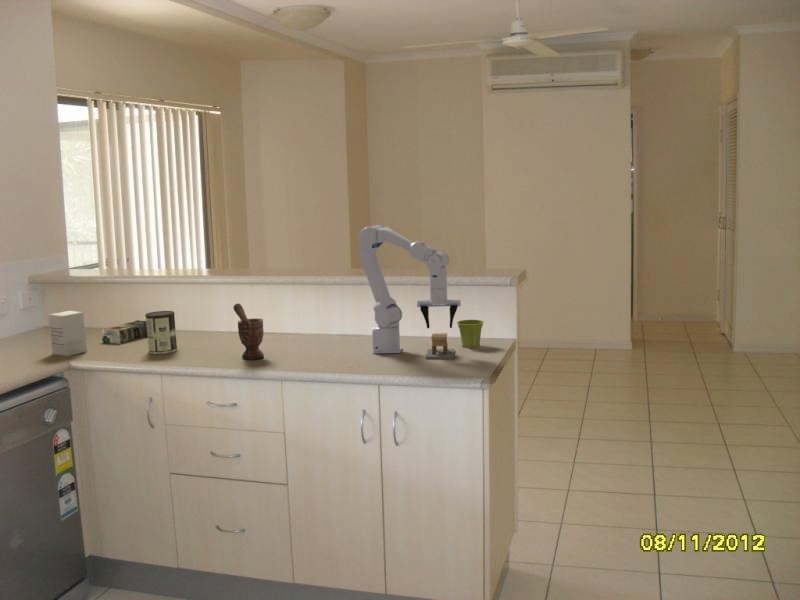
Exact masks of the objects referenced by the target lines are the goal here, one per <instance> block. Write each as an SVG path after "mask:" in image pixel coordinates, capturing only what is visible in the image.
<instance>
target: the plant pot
mask: <svg viewBox="0 0 800 600" xmlns="http://www.w3.org/2000/svg"><path fill="white" fill-rule="evenodd" d="M456 324H457V325H458V326H457V327H458V329H459V333H460V340H461V346H462V347H465V348H471V349H472V348H475V347H480V344H481V334H482V328H483V324H484V320H481V319H462V320H459V321H457V322H456Z"/></svg>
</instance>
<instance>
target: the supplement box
mask: <svg viewBox="0 0 800 600" xmlns="http://www.w3.org/2000/svg"><path fill="white" fill-rule="evenodd" d="M48 323H49V332H50V333H49V334H50V342H51V349H52V351H51V352H52V354H53V355H56V356H62V357H70V356H74V355H78V354H82V353H86V352H88V347H87V337H86V327H85V326H86V325H85V316H84V312H83V311H75V310H67V311H65V310H64V311H61V312H56V313H49V314H48Z"/></svg>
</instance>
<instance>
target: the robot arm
mask: <svg viewBox="0 0 800 600" xmlns="http://www.w3.org/2000/svg"><path fill="white" fill-rule="evenodd" d="M357 237H358V241H359V244H358V245H359V246H358V255H359V258H360V261H361V262H360V263H361V265H362V267H363V270H364V272H365V275H366V279H367V281H368V284H369V287H370V290H371V293H372V295H373V298H374V300H375V303H374V306H373V311H374V321H375V323H376V324H377V326H373V327H372V335H371V336H372V354H400V353H401V352H402V350H403V347H402V346H401V339H400V336H401V335H400V334H401V333H400V322H401V320H402V318H403V311H402V309H401V308H400V307H399V305H398V304H397V301H396V300H395V299H394V298H393V297H392V296H391V295H390V292H389V289H388V285H387V283H386V281H385V277H384V275H383V272H382V268H381V266H380V263H379V261H378V258H377V252H378V251H379V248H380V247H381V246H382V245H383V244H384V243H390V244H393V245H395V246H397V247H399V248H401V249H403V250H404V251H407V252H408V253H409V256H410V257H411V258H413V259H415V260H417V261H419V262H420V263H423V264H425V265H426V267H427V268H428V270H429V297H430V298H429V299H424V300H417V301H416V306H417V307H416V308H420V309H419V310H420V312H421V314H422V316H423V318H424V321H425V324H426V329H430V317H429V315H430V314H429V308H430V307H431V308H434V307H449V329H453V322H454V318H455V314H456V312H457V310H458V307H461V306H462V305H461V299H448V280H447V279H448V278H447V276H448V274H447V266H448V265H449V263H450V258H449V255H448V254H447V253H446V252H445V251H444V250H438V251H437V248H436V247H433V248H432V247H430V246H429V245H426V243H425V241H423V240H421V241H419V240H416V241H414V242H413V241H412V240H411V239H408V238H407V237H405V236H403V235H401V234H400V233H397V232H396V231H395V230H393V229H392V228H390V227H388V226H385V225H383V224H376V225H371V226H369V225H367V226H364V227H363V228H362V229H361V231H360V232H359V234H358V236H357Z"/></svg>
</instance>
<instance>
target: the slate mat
mask: <svg viewBox="0 0 800 600" xmlns="http://www.w3.org/2000/svg"><path fill="white" fill-rule="evenodd" d="M454 355H455V348H448V351H447V354H443V348H436V354H435V355H432V348H428V349H427V352H426V356H425V360H440V359H441V360H450V359H451V360H452V359H454Z"/></svg>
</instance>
